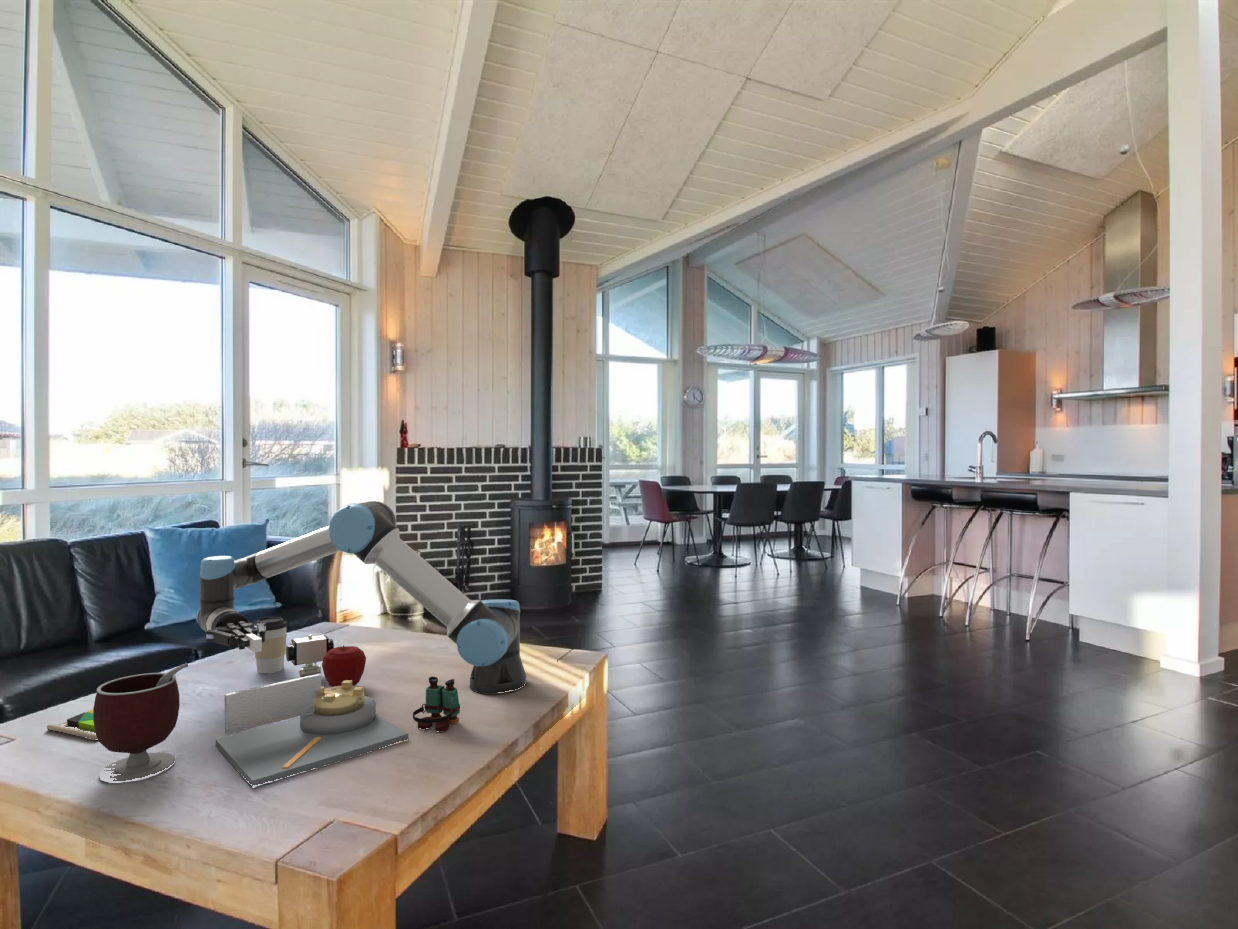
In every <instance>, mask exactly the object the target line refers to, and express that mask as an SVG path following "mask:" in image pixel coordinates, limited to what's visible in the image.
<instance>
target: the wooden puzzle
mask: <svg viewBox="0 0 1238 929" xmlns="http://www.w3.org/2000/svg"><path fill="white" fill-rule="evenodd" d="M61 724H66V725H64V726H65V727H74V728H75V727H77V728H78V729H80V730H83V731H80V730H75V729H70V728H65V727H61V726H59V725H61ZM46 729H47V730H48V729H49V730H48V731H51V730H53V731H52V732H55V731H60V732H64V733H68V734H67V735H69V734H73V735H77V736H76V737H78V736H81V737H80V738H82V737H87V738H91V739H97V736H96V735H95V734H92V733H88V732H84V731H90V732H94V733H96V732H95V727H94V722H93V708H92V709H90V710H88V711H85V712H82V713H79V714H77V715H74V716H72V717H70V718H67V719H66V721H63V723H59V724H57V725H55V724H50V723H49V724H47V725H46ZM60 732H59V733H60ZM64 733H63V734H64ZM73 735H72V736H73ZM87 738H86V739H87ZM91 739H90V740H91Z"/></svg>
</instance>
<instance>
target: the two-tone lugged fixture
mask: <svg viewBox="0 0 1238 929" xmlns="http://www.w3.org/2000/svg"><path fill="white" fill-rule="evenodd" d="M322 684H323V683H322V674H315V675H311V676H306V677H298V678H293V679H289V680H288V679H287V680H284V681H279V682H275V683H271V684H265V685H261V686H256V687H250V688H246V689H242V690H236V691H233V692H228V693H224V734H225V735H226V736H228V735H230V734H231V735H232V734H236V733H240V732H244V731H248V730H252V729H255V728H259V727H263V726H267V725H271V724H275V723H279V722H281V721H282V722H283V721H287V720H291V719H293V718H294V719H295V718H299V717H300V716H302V715H306V714H310V713H315V714H318V715H324V716H333V715H342V714H347V713H350V712H353V711H356V710H358V709H360V708H361V707H363V706H364V696H365V687H364V686H358V685H355V686H352V680H345V681H343V682H342V686H335V687H331V686H329V687H326V688H325V686H322Z"/></svg>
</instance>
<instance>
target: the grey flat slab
mask: <svg viewBox="0 0 1238 929" xmlns="http://www.w3.org/2000/svg"><path fill="white" fill-rule="evenodd" d="M376 708H377V703H376V700H375V699H374V698H372V697H369V696H365V695H364V706H363V707H361V708H360V709H358V710H356V711H353V712H350V713H347V714H342V715H333V716H324V715H318V714H315V713H310V714H306V715H302V716H299V717H296V718H294V719H293V718H292V719H288V720H284V721H282V722H281V721H280V722H276V723H272V724H268V725H264V726H260V727H256V728H252V729H248V730H244V731H241V732H237V733H233V734H231V735H230V734H229V735H226V736H222V737H219V738H216V739H215V742H214V743H215V746H214V747H215V748H218V749H219V750H218V749H217V750H218V751H219V752H220V751H221V752H220V753H221V754H222V755H223V754H224V755H223V757H224V756H225V757H226V758H227V759H228V760H227V759H226V758H225V757H224V758H225V759H226V760H227V762H229V761H230V762H231V763H230V762H229V763H230V765H231V764H232V765H233V766H234V767H235V768H236V769H237V770H238V771H239V772H240V774H242V775H243V776H244V778H246V780H247V781H249V783H250V784H252V786H253V785H258V784H263V783H265V782H268V781H274V780H276V779H280V778H285V777H287V776H290V775H293V774H297V773H300V772H303V771H308V770H311V769H313V768H318V769H320V768H319V767H321V768H323V767H322V766H324V765H327V766H329V765H328V764H331V765H333V763H334V764H336V763H335V762H337V763H339V762H338V761H340V762H343V760H344V761H346V760H345V759H347V760H349V759H348V758H350V757H353V758H356V757H359V756H358V755H360V754H363V755H366V754H368V753H367V752H369V753H371V752H370V751H373V752H375V751H374V750H376V751H378V750H377V749H379V748H382V747H385V746H388V745H390V744H394V743H396V742H399V741H404V740H407V739H408V740H409V733H408V732H407V731H405V730H404V729H402V728H400V727H398V726H397V725H396V724H394V723H392V722H391V721H389V720H388V719H386V718H385V717H383V716H380V714H378V713H377V709H376ZM382 749H383V748H382ZM379 750H380V749H379ZM365 753H366V754H365ZM360 756H361V755H360ZM350 759H351V758H350ZM232 765H231V766H232ZM233 766H232V767H233ZM234 767H233V768H234ZM324 767H325V766H324ZM235 768H234V769H235ZM236 769H235V770H236ZM237 770H236V771H237ZM238 771H237V772H238ZM311 771H312V770H311ZM308 772H309V771H308ZM240 774H239V775H240ZM244 778H243V779H244ZM285 779H286V778H285Z"/></svg>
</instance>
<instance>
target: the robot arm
mask: <svg viewBox="0 0 1238 929" xmlns="http://www.w3.org/2000/svg"><path fill="white" fill-rule="evenodd" d="M396 518H397V517H396V515H395V513H394V511H393V509H392V508H390V506H389V505H387V504H385V503H383V502H380V501H374V500H373V501H364V502H358V503H356V502H354V503H349V504H347V505H345V506H342V507H340V508H339V509H338V510H336V512H335V513H333V515H332V517H331V519H330V520H329V523H328V526H324V527H322V528H319V529H316V530H313V531H311V532H309V533H306V534H303V535H301V536H298V537H295V538H293V539H289V540H287V541H285V542H282V543H280V544H277V545H273V546H272V547H269V548H267V549H264V550H261V551H259V552H255V553H252V554H249V555H247V556H245V557H242V558H238V559H235V558H234V557H233V556H230V555H216V556H208V557H204V558H203V559H202V560H200V561H201V562H200V572H199V595H200V597H199V598H200V600H199V609H198V610H197V612H196V616H195V618H196V623H197V624H198V626H199V627H200V629H201V630H202V631H203V632H205V633H206V635H205V639H206V640H205V642H208V643H215V644H217V645H218V644H219V645H222V646H225V647H228V648H234V647H235V646H236V645H237V646H238V650H245V649H246V648H247V649H249V650H250V651H252V653H255V652H260V651H262V642H265V633H266V622H262V623H260V624H257V626H254V624H255V623H252V622H250V621H249V620H248V618H247V616H245V615H243V614H242V613H240V612H239V611H237V610H235V593H236V592H235V591H236V590H237V589H242V588H244V587H246V586H250V585H254V584H258V583H260V582H262V581H264V580H266V579H269V578H271V577H273V576H274V577H275V576H277V575H280V574H283V573H285V572H288V571H290V570H293V569H295V568H299V567H301V566H303V565H306V564H309V563H312V562H315V561H317V560H320V559H322V558H325V557H328V556H331V555H333V554H336V553H338V552H343V553H347V554H353V555H355V557H356V558H357V559H358V560H360V561H362V562H363V564H365V565H373V564H374V565H375V566H376V567H378V569H380V570H381V571H383V573H385V575H387V576H388V577H389V578H391V580H392V581H394V582H395V583H396V584H397V585H398V586H399V587H401V588H402V589H403V590H404V591H405V592H406V593H407V594H409V595H410V597H412V598H413V599H414V600H415V601H416V602H418V603H419V604H420V605H421V606H422V607H423V608H425V609H426V610H427V611H428V612H430V614H431V615H432V616H434V617H435V618H436V620H438V621H439V622H441V623H442V625H443V626H445V627H446V636H447V637H448V638H449V639H450V640H452V642H453V643H455V644H456V647H457V652H458V654H459V655H460V657H461V658H462V659H463V660H464V661H465V662H466V663H467V664H470V665H472V666H473V667H472V670H471V673H470V676H469V688H470V690H471V691H473V690H474V691H473V692H475V691H477V692H476V693H479V692H480V694H485V693H490V694H489V695H492V694H491V693H498V692H505V691H509V690H515V689H518V688H520V687H522V686H524V684H525V683H526V684H527V673H526V671H525V667H524V664H523V661H522V657H521V653H520V652H521V649H520V648H521V645H520V644H521V641H520V640H521V639H520V638H521V631H520V630H521V627H520V626H521V622H520V621H521V618H520V617H521V615H520V614H521V608H520V603H519V601H518V600H514V599H504V598H503V599H483V600H481V599H474V600H473V599H470V598H469V597H468V596H466V595H465V594H464V593H463V592H462V591H461V590H460V589H458V588H457V587H456V586H455V585H454V584H453V583H452V582H451V581H449V580H448V579H447V578H446V577H445V576H443V575H442V574H441V573H440V572H439V571H438V570H437V569H436V568H434V567H433V566H432V565H431V564H430V563H429V562H428V561H427V560H425V558H423V557H422V556H421V555H420V554H418V553H417V552H416V551H415V550H414V549H412V547H410V546H409V545H408V544H407V543H406V542H405V541H404V540H403V539H402V538H401V537H400V529H399V528H398V527H397V519H396ZM524 687H525V686H524Z"/></svg>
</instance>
